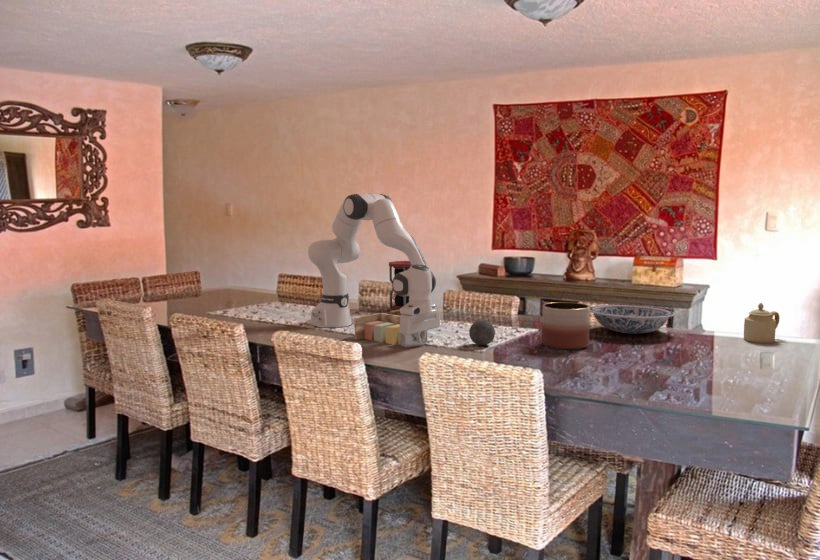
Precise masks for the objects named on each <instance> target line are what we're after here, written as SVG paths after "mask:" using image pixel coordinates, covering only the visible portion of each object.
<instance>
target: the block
mask: <svg viewBox="0 0 820 560" xmlns="http://www.w3.org/2000/svg"><path fill="white" fill-rule="evenodd" d="M420 336H421V334H420ZM397 344H398V346H401V347H403V348H411V347H420V346H424V342H421V343H417V340H416V337H415V335H414V333H413V334H409V335H405V334H402V333H401V332H398V343H397Z"/></svg>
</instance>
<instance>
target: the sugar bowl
mask: <svg viewBox="0 0 820 560" xmlns="http://www.w3.org/2000/svg"><path fill="white" fill-rule="evenodd" d="M757 308H758V309H753V310H751V311H750V312H748V314H749V315H748V316H747V317H745V318H744V320H743V321H744V322H743V323H744V324H743V340H744V341H747V342H750V343H751V342H752V343H757V344H758V343H759V344H772V343H775V341H776V340H775V339H776V329H777V328H778V326H779V323H780V313H778V312H777V311H775V310H774V311H769V310H765V309H764V304H763V303H762V302H760V303H759V304H758V305H757Z"/></svg>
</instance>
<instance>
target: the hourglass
mask: <svg viewBox="0 0 820 560" xmlns="http://www.w3.org/2000/svg"><path fill="white" fill-rule="evenodd" d="M388 266H389V268H388V269H389V281H390V283H391V284H392V281H393V276H392V275H394V276H395V275H396V274H397V273H401V272H404V271H406V270H408V269H409V268H410V267H411V266H412V265H411V263H410V261H409V260H395V261H389V262H388ZM393 269H394V270H393ZM392 270H393V271H392ZM392 272H393V273H394V274H392ZM393 293H394V290H393V287H392V289H391V290H390V292H389V307H388V308H389V311H391V309H392V308H395V309H398V310H400V308H402V307H403V306H404V305H406V304H407V303H409V296H398V295H397V294H396V293H395V296H394V304H393ZM389 311H388V312H389Z"/></svg>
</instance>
